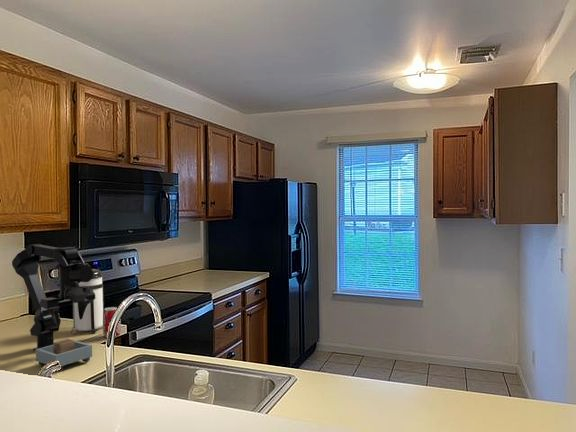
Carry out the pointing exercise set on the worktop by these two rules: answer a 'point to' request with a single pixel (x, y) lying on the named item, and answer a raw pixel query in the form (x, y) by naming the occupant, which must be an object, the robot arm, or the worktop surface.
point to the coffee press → (91, 305)
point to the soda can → (106, 320)
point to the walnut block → (63, 346)
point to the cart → (64, 354)
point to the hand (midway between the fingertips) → (69, 321)
